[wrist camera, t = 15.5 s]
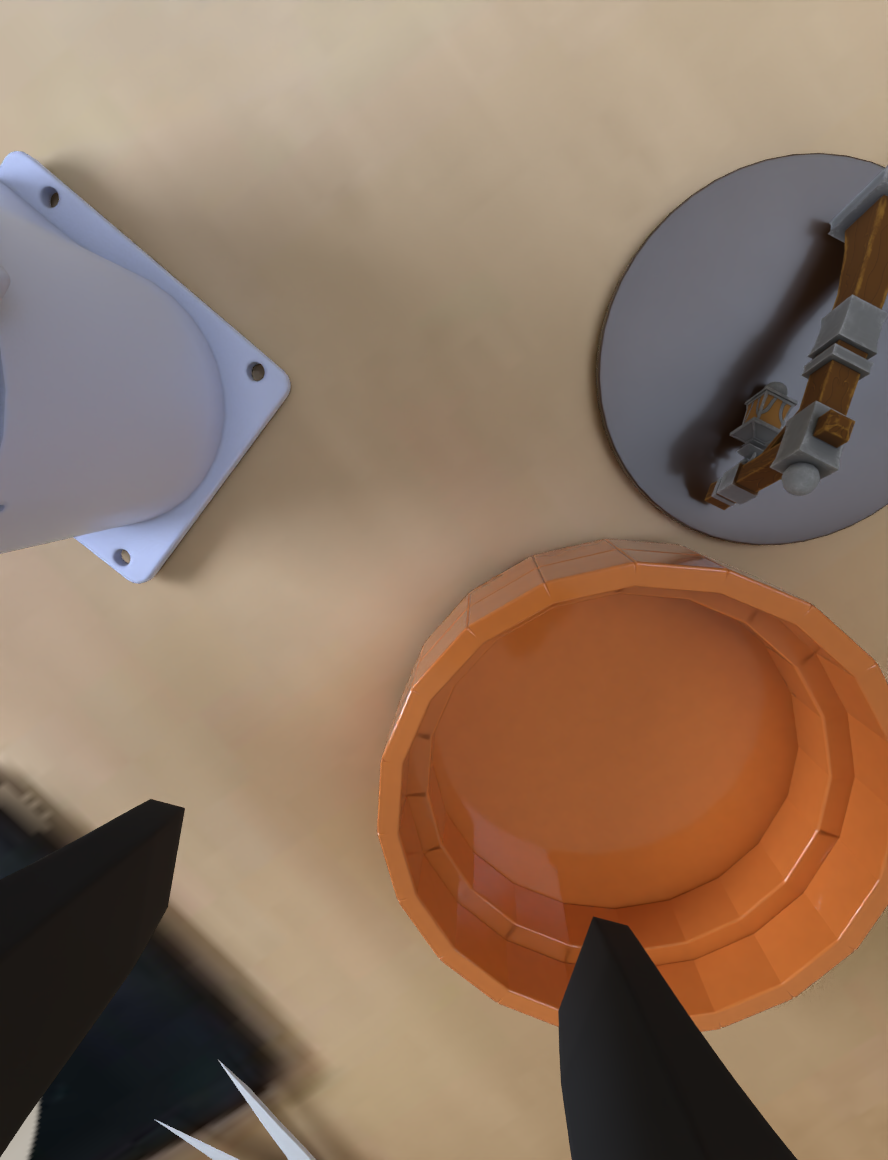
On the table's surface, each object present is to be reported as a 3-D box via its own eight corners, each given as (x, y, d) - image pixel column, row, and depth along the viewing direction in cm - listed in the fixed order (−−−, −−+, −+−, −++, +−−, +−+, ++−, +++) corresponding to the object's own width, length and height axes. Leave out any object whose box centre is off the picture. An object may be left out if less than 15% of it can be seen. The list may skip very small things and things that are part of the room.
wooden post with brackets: (673, 519, 16) (784, 460, 12) (766, 285, 18) (895, 157, 14) (731, 548, 17) (864, 500, 12) (819, 312, 18) (965, 193, 14)
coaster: (522, 388, 17) (523, 386, 17) (788, 68, 15) (796, 58, 15) (771, 610, 18) (778, 614, 18) (1054, 338, 16) (1068, 335, 16)
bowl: (316, 761, 20) (276, 837, 16) (599, 442, 17) (633, 442, 14) (615, 994, 22) (645, 1117, 18) (924, 732, 19) (1039, 808, 15)
